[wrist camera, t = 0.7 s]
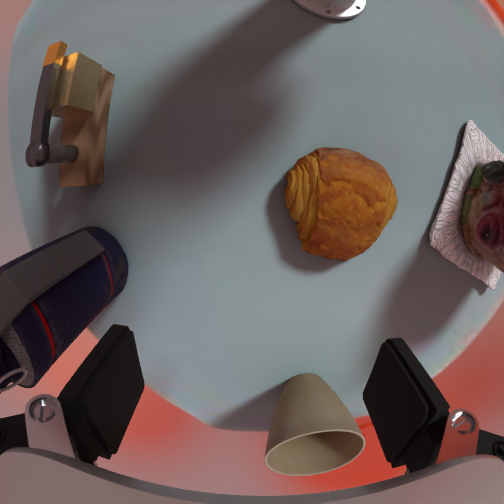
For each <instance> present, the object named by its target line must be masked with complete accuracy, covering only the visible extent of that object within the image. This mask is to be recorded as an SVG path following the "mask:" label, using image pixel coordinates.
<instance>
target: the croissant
mask: <svg viewBox="0 0 504 504" xmlns="http://www.w3.org/2000/svg"><path fill="white" fill-rule="evenodd" d="M286 178H287V182H288V183H287V186H286V188H285V197H284V199H285V201H286V206H285V207H287V208H288V209H289V213H290V216H291V218H292V219H293V220H294V221H296V222H297V224H298V225H296V229H297V231H298V239H299V240H300V241H301V242H302V243H303V244H302V245H301V247H302V249H303V250H304V251H306V252H307V253H309V254H312V255H319V256H322V257H325V258H327V259H335V260H338V259H339V260H342V261H345V260H348V259H351V258H353V257H355V256H357V255H359V254H361V253H363V252H364V251H366V250H367V249H368V248H370V246H371V245H372V244H373V242H375V241H376V240H377V238H378V237H379V235H380V234H381V232H382V230H383V229H384V227H385V226H386V225H387V223H388V221H389V220H390V219H391V218H392V216H393V214H394V212H395V209H396V206H397V202H398V200H397V196H396V189H395V188H394V186H393V184H392V180H391V179H390V177H389V175H388V173H387V171H386V169H385V168H384V167H383V166H382V165H380V164H379V163H377V162H375V161H373V160H370V159H368V158H366V157H365V156H364V155H362V154H360V153H357V152H354V151H350V150H347V149H341V148H327V147H324V148H318V149H315V150H314V151H313V152H311V153H310V154H308V155H307V156H304V157H302V158H300V159H298V161H297V162H296V164H295V165H294V167H293V168H292V169H291V170H290V171H289V172H288V174H287V175H286Z"/></svg>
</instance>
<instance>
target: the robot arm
mask: <svg viewBox="0 0 504 504" xmlns="http://www.w3.org/2000/svg"><path fill="white" fill-rule="evenodd" d="M293 1H294V2H295V3H297V4H298V5H299V6H300V7H302V8H303V9H305V10H307V11H309V12H311V13H313V14H315V15H318V16H321V17H325V18H329V19H342V20H344V19H350V18H353V17H356V16H357V15H359V14H360V13H361V12H362V11H363V9H364V7H365V5H366V0H293ZM143 390H144V379H143V375H142V371H141V367H140V362H139V358H138V353H137V348H136V344H135V338H134V334H133V331H130V330H129V327H127V326H123V325H117V324H113V325H112V326H111V327H110V328H109V330H108V331H107V332H106V333H105V335H104V336H103V337H102V338H101V340H100V341H99V342H98V344H97V345H96V346H95V347H94V348H93V350H92V351H91V352H90V354H89V355H88V356H87V357H86V359H85V360H84V361H83V363H82V364H81V365H80V367H79V368H78V369H77V371H76V372H75V373H74V375H73V376H72V377H71V379H70V380H69V381H68V383H67V384H66V385H65V387H64V388H63V390H62V391H61V392H60V395H59V396H58V398H55V397H54V396H51V395H48V394H41V395H37V396H35V397H33V398H32V399H30V401H29V402H28V403H27V405H26V407H25V413H23V414H20V415H15V416H10V417H5V418H0V504H504V437H502V436H499V435H496V434H493V433H490V432H486V431H483V430H480V429H479V422H478V419H477V417H476V416H475V415H474V414H473V413H472V412H470V411H469V410H466V409H456V410H454V411H452V412H451V413H449V411H448V409H449V408H450V406H449V404H448V403H447V401H446V400H445V398H444V397H443V395H442V394H441V392H440V391H439V389H438V388H437V386H436V385H435V383H434V382H433V380H432V379H431V378H430V376H429V375H428V373H427V372H426V370H425V369H424V368H423V366H422V365H421V363H420V362H419V361H418V359H417V358H416V357H415V355H414V354H413V352H412V351H411V350H410V348H409V347H408V346H407V344H406V343H405V342H404V340H403V339H402V338H391V339H387V340H386V341H385V343H383V344H382V345H381V348H380V351H379V353H378V356H377V359H376V361H375V364H374V367H373V369H372V372H371V374H370V377H369V379H368V382H367V384H366V386H365V389H364V391H363V400H364V403H365V405H366V408H367V410H368V413H369V415H370V418H371V420H372V423H373V425H374V428H375V431H376V433H377V436H378V439H379V441H380V444H381V447H382V449H383V452H384V455H385V457H386V460H387V461H388V462H391V465H392V468H395V467H399V466H402V465H405V464H406V467H407V470H406V472H405V475H402V476H399V477H395V478H392V479H388V480H385V481H381V482H377V483H372V484H368V485H364V486H359V487H354V488H349V489H342V490H336V491H329V492H322V493H313V494H304V495H303V494H302V495H287V496H286V495H285V496H242V495H226V494H215V493H206V492H198V491H191V490H184V489H179V488H173V487H169V486H164V485H159V484H155V483H151V482H147V481H143V480H139V479H135V478H132V477H128V476H124V475H121V474H118V473H115V472H112V471H109V470H106V469H103V468H100V467H98V466H97V463H96V460H97V458H98V456H100V457H103V458H106V459H110V458H111V455H112V454H116V452H117V451H118V448H119V446H120V444H121V441H122V439H123V436H124V434H125V432H126V429H127V427H128V425H129V422H130V420H131V417H132V415H133V413H134V411H135V408H136V406H137V404H138V402H139V399H140V397H141V395H142V393H143Z"/></svg>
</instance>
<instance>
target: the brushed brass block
mask: <svg viewBox="0 0 504 504" xmlns="http://www.w3.org/2000/svg"><path fill="white" fill-rule="evenodd" d="M101 67H102V65H100V64H99V63H97V62H95V61H94V60H92V59H90V58H88V57H87V56H85V55H83V54H81V53H79V52H78V53H74V54H71V55H68V56H65V57H64V58H63V62H62V65H61V68H60V72H59V76H58V81H57V85H56V90H55V95H54V101H53V107H52V113H51V116H53V117H59V118H64V117H69V116H74V115H79V114H85V113H91V112H93V111H94V104H95V98H96V92H97V87H98V81H99V77H100V72H101Z"/></svg>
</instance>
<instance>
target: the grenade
mask: <svg viewBox="0 0 504 504" xmlns="http://www.w3.org/2000/svg"><path fill="white" fill-rule="evenodd" d="M127 277H128V261H127V258H126V255H125V253H124V251H123V250H122V248H121V246H120V244H119V243H118V242H117V240H116V239H115V238H114V237H113V236H112V235H111V234H109V233H108V232H107V231H105V230H103V229H101V228H98V227H85V228H83V229H80V230H78V231H75V232H73V233H71V234H68V235H66V236H63V237H61V238H59V239H56V240H54V241H52V242H50V243H48V244H45V245H43V246H41V247H39V248H37V249H35V250H33V251H30V252H28V253H26V254H24V255H22V256H20V257H18V258H16V259H15V260H12V261H10V262H8V263H7V264H5V265H2V266H1V267H0V393H1V392H4V391H6V390H9V389H11V388H13V387H15V386H16V385H19V386H21V387H24V388H32V387H34V386H35V385H36V384H37V383H38V382H39V380H40V379H41V378H42V377H43V376H44V374H45V373H46V372H47V371H48V370H49V368H50V367H51V365H53V364H54V362H55V361H56V360H57V359H58V358H59V357H60V356H61V354H62V353H63V352H64V351H65V350H66V349H67V348H68V347H69V345H70V344H71V343H72V342H73V341H74V340H75V339H76V338H77V337H78V336H79V334H80V333H81V332H82V331H83V330H84V329H85V328H86V327H87V326H88V325H89V324H90V323H91V322H92V321H93V320H94V319H95V317H96V316H97V315H98V314H99V313H100V312H101V311H102V310H103V309H104V308H105V307H106V306H107V305H108V304H109V303H110V302H111V301H112V300H113V299H114V298H115V297H116V296H117V295H118V294H119V293H120V292H121V291H122V290H123V288H124V286H125V284H126V281H127ZM10 382H13V384H12V385H10V386H8V387H7V385H8V384H9V383H10Z"/></svg>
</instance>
